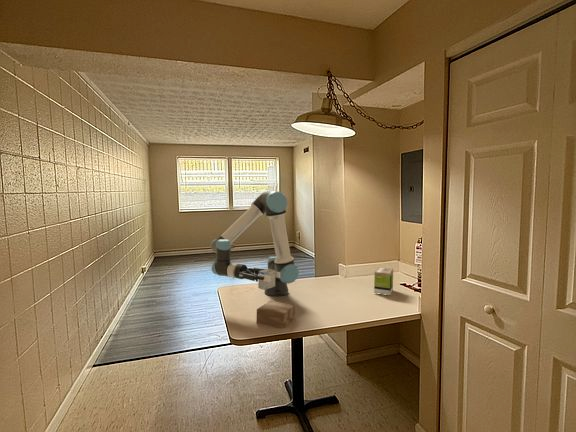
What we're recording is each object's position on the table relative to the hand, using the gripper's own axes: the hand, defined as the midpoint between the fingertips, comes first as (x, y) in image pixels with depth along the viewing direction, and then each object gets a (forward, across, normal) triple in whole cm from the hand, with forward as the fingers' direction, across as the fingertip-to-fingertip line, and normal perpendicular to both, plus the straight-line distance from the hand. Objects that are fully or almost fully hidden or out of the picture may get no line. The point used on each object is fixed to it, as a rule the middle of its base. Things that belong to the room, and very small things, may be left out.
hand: (275, 277), depth 153 cm
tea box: (+39, -76, -22) cm, 88 cm away
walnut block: (+1, +1, -22) cm, 22 cm away
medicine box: (-5, 0, -6) cm, 8 cm away
